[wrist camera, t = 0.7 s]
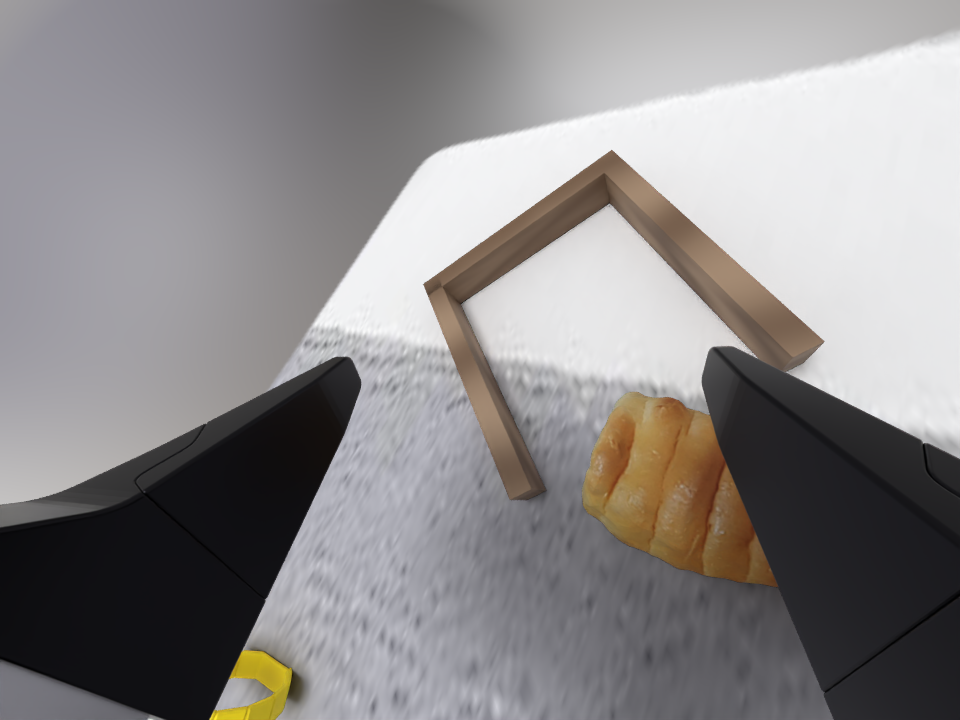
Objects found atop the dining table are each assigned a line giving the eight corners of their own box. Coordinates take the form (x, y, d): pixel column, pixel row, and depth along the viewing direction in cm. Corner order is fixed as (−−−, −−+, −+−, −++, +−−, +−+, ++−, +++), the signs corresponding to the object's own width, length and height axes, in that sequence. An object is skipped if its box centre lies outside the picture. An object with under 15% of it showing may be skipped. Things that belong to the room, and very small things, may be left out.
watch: (315, 663, 22) (215, 716, 16) (300, 719, 21) (191, 793, 16) (251, 629, 24) (147, 666, 19) (236, 678, 23) (123, 731, 18)
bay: (803, 362, 16) (824, 341, 14) (527, 500, 19) (509, 500, 17) (616, 181, 23) (611, 150, 21) (442, 301, 27) (423, 284, 25)
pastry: (859, 465, 14) (916, 456, 11) (816, 639, 13) (866, 685, 10) (620, 392, 19) (611, 370, 16) (575, 513, 18) (556, 517, 15)
